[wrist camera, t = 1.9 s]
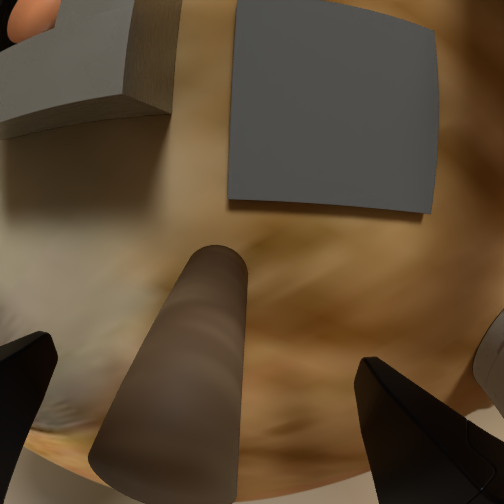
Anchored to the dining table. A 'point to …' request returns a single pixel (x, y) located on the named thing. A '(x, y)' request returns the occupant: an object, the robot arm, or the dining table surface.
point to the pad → (332, 106)
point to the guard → (89, 65)
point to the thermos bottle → (492, 363)
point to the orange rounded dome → (31, 18)
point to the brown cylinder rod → (183, 393)
